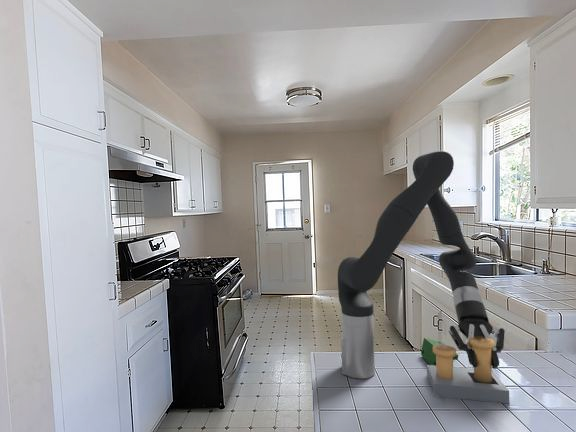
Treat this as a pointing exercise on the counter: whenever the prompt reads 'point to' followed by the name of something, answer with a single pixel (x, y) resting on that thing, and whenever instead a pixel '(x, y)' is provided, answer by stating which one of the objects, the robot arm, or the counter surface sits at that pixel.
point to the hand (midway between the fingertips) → (485, 366)
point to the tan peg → (483, 358)
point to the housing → (462, 380)
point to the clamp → (431, 351)
